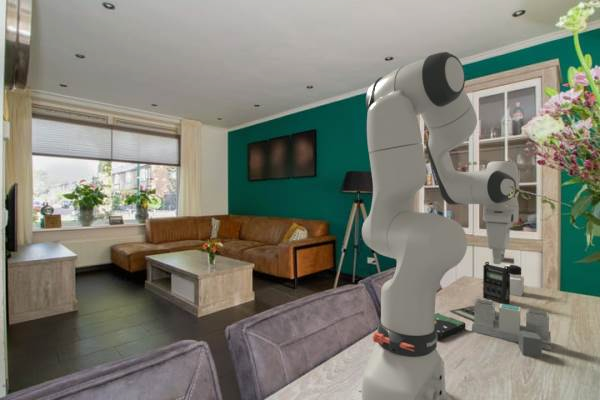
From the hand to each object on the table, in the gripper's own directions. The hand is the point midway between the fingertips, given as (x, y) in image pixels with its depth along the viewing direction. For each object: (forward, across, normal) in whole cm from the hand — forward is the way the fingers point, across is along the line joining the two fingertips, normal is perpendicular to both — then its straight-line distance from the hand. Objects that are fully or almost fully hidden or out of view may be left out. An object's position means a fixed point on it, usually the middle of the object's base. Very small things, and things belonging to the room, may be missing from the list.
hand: (498, 261), depth 90 cm
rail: (+23, -3, +3) cm, 23 cm away
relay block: (+23, +5, +8) cm, 25 cm away
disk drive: (+24, +5, -15) cm, 29 cm away
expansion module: (+21, -2, +3) cm, 21 cm away
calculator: (+23, -17, -7) cm, 29 cm away
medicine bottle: (+22, -54, +1) cm, 58 cm away
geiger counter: (+22, -37, -4) cm, 43 cm away
